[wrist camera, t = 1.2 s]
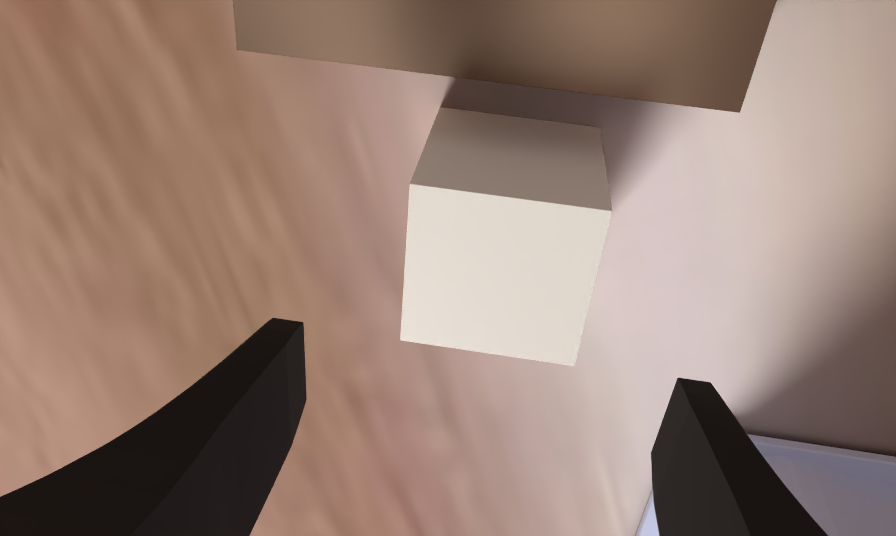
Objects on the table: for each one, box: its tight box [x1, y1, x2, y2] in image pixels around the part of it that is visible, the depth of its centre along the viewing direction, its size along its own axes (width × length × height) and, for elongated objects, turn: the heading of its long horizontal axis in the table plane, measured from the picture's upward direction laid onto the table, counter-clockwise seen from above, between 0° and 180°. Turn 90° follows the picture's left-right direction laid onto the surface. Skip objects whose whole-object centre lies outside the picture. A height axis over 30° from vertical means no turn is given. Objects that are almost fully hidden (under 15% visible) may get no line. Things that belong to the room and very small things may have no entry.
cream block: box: [400, 107, 612, 366], centre depth 19 cm, size 4×4×5 cm
